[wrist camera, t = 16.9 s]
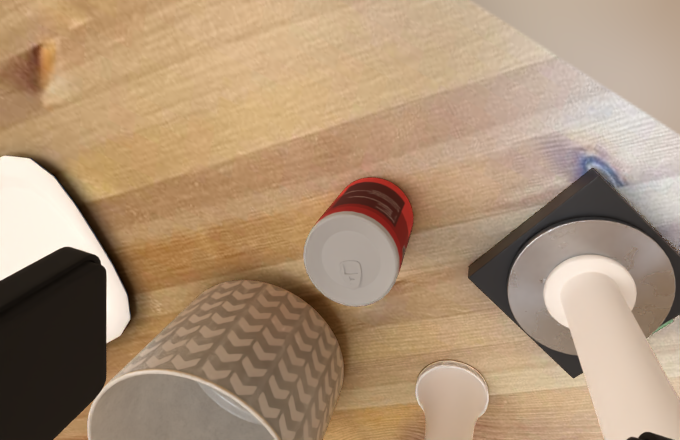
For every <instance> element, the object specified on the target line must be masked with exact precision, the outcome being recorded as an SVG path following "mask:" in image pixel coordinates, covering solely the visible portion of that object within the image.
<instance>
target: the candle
mask: <svg viewBox="0 0 680 440" xmlns="http://www.w3.org/2000/svg"><path fill="white" fill-rule="evenodd" d="M636 295H637V292H636V285H635V282H634V280H633V278H632V276H631V275H630V273H629V272H628V271H627V269H626V268H625V267H624V266H622V265H621V264H620V263H618V262H617V261H615V260H613V259H611V258H608V257H605V256H601V255H580V256H576V257H572V258H570V259H567V260H565V261H563V262H562V263H560V264H559V265H558V266H556V267H555V268H554V269H553V270H552V271H551V273H550V274H549V275H548V277H547V279H546V281H545V284H544V290H543V296H544V301H545V305H546V308H547V310H548V311H549V313H550V314H551V316H552V317H553V318H554V319H555V320H556V321H558V322H559V323H560V324H562V325H564V326H565V327H568V328H569V329H570V332H571V335H572V338H573V341H574V345H575V348H576V351H577V354H578V357H579V361H580V364H581V367H582V370H583V373H584V377H585V380H586V383H587V386H588V389H589V392H590V396H591V399H592V402H593V405H594V408H595V412H596V415H597V418H598V421H599V424H600V428H601V431H602V434H603V437H604V440H627V439H628V438H629V437H636V438H638V437H639V436H640V435H641V434H642V433H644V432H651V433H654V434H658V435H661V436H664V437H667V438H670V439H673V440H680V399H679V397H678V396H677V394H676V392H675V390H674V388H673V386H672V385H671V383H670V381H669V379H668V377H667V376H666V374H665V372H664V370H663V368H662V366H661V365H660V363H659V361H658V359H657V357H656V356H655V354H654V352H653V350H652V348H651V346H650V345H649V343H648V341H647V339H646V337H645V335H644V334H643V332H642V330H641V328H640V326H639V325H638V323H637V321H636V319H635V317H634V315H633V314H632V312H631V311H632V309H633V307H634V305H635V302H636Z"/></svg>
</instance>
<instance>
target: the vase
mask: <svg viewBox="0 0 680 440" xmlns="http://www.w3.org/2000/svg"><path fill="white" fill-rule="evenodd" d="M415 394H416V399H417V401H418V403H419V405H420V407H421V408H422V409H423V411H424V414H425V421H426V433H425V440H473V432H474V427H475V424H476V421H477V419H478V418H479V417H480V416H481V415H482V414H483V413H484V412H485V410H486V409H487V406H488V402H489V395H488V386H487V383H486V381H485V379H484V378H483V376H482V375H481V374H480V373H479V372H478V371H477V370H475V369H474V368H473V367H471V366H469V365H467V364H465V363H462V362H458V361H452V360H444V361H438V362H435V363H432V364H430V365H428V366H427V367H426V368H424V369H423V370H422V371H421V373H420V374H419V376H418V379H417V383H416V389H415Z"/></svg>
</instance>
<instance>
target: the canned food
mask: <svg viewBox="0 0 680 440" xmlns="http://www.w3.org/2000/svg"><path fill="white" fill-rule="evenodd" d="M412 227H413V212H412V207H411V205H410V202H409V200H408V199H407V197H406V196H405V194H404V193H403V191H402V190H401V189H400V188H399V187H397V186H396V185H395V184H393V183H392V182H389V181H387V180H385V179H380V178H363V179H359V180H357V181H354V182H353V183H351V184H350V185H348V186H347V187H346V188H345V189H344V190H343V191H342V193H341V194H340V195H339V196H338V197H337V199H336V200H335V201H334V202H333V203H332V205H331V206H330V207H329V208H328V209H327V211H326V212H325V213H324V214H323V215H322V217H321V218H320V219H319V220H318V221H317V223H316V224H315V225H314V227H313V228H312V230H311V231H310V233H309V235H308V237H307V240H306V243H305V246H304V264H305V268H306V271H307V274H308V276H309V278H310V280H311V281H312V283H313V284H314V285H315V287H316V288H317V289H318V290H319V291H320V292H321V293H322V294H323V295H325V296H326V297H327V298H329V299H330V300H332V301H335V302H337V303H339V304H342V305H346V306H355V307H359V306H367V305H370V304H373V303H375V302H377V301H379V300H380V299H382V298H383V297H384V296H385V295H386V294H388V292H389V291H390V289H391V288H392V287H393V285H394V283H395V281H396V279H397V276H398V274H399V271H400V268H401V265H402V261H403V258H404V255H405V252H406V248H407V245H408V242H409V238H410V235H411V232H412Z"/></svg>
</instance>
